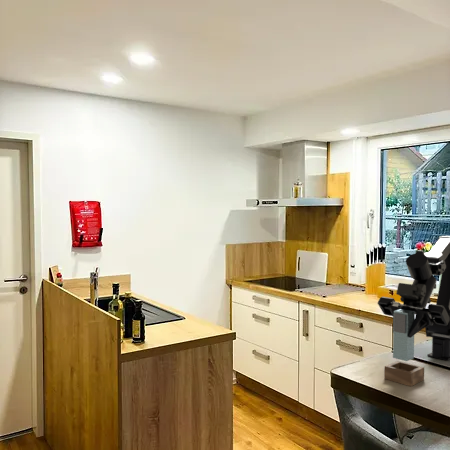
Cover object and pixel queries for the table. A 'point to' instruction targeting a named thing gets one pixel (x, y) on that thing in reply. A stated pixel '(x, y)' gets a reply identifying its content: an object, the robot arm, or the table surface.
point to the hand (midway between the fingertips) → (401, 335)
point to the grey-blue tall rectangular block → (403, 335)
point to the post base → (404, 373)
